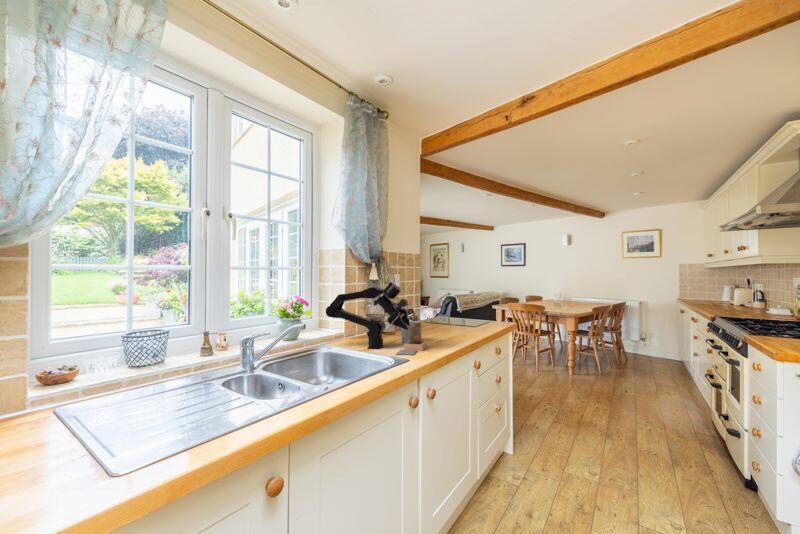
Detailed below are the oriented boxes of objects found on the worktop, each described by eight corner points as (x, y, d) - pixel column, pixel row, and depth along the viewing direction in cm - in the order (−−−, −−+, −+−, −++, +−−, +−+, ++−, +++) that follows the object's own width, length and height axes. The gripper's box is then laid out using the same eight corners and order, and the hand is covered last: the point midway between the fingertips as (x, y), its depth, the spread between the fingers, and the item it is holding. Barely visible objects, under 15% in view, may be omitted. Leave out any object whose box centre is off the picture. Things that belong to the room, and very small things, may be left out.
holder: (404, 350, 163) (404, 344, 163) (410, 346, 171) (409, 340, 171) (422, 350, 160) (421, 344, 160) (426, 346, 168) (426, 340, 168)
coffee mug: (414, 344, 175) (413, 325, 176) (398, 343, 181) (397, 324, 181) (426, 339, 187) (425, 321, 187) (410, 338, 192) (410, 320, 192)
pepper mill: (408, 349, 164) (407, 316, 164) (412, 346, 169) (411, 315, 169) (419, 350, 162) (418, 317, 162) (423, 347, 167) (421, 315, 168)
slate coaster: (396, 354, 154) (396, 353, 154) (400, 350, 162) (400, 349, 162) (413, 355, 152) (413, 353, 152) (417, 351, 160) (416, 349, 160)
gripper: (392, 295, 159) (416, 318, 156) (402, 292, 177) (424, 313, 174) (377, 312, 161) (400, 335, 158) (389, 308, 179) (410, 328, 176)
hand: (409, 327), depth 167 cm, fingers open, 9 cm apart
